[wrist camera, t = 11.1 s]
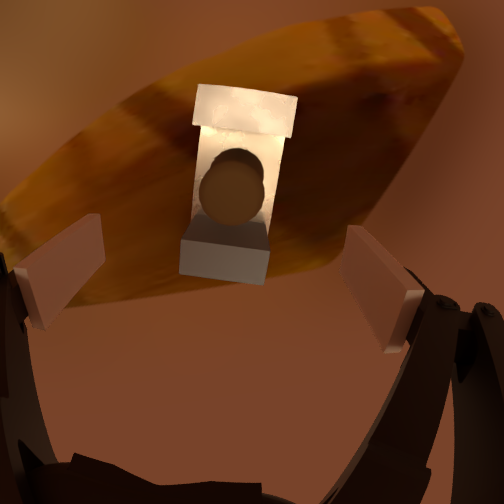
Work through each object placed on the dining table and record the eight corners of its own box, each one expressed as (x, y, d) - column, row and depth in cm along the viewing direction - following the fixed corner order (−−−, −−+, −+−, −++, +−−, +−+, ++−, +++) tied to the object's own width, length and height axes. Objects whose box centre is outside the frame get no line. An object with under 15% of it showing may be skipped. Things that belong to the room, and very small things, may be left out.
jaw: (193, 242, 34) (178, 273, 27) (195, 213, 33) (180, 239, 26) (260, 251, 35) (263, 285, 28) (265, 223, 34) (270, 251, 26)
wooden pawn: (247, 137, 30) (247, 142, 20) (274, 186, 32) (285, 214, 22) (198, 164, 31) (174, 183, 21) (225, 211, 33) (215, 249, 23)
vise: (190, 238, 35) (173, 273, 27) (207, 95, 29) (192, 83, 20) (264, 248, 36) (268, 285, 28) (288, 106, 29) (303, 98, 21)
